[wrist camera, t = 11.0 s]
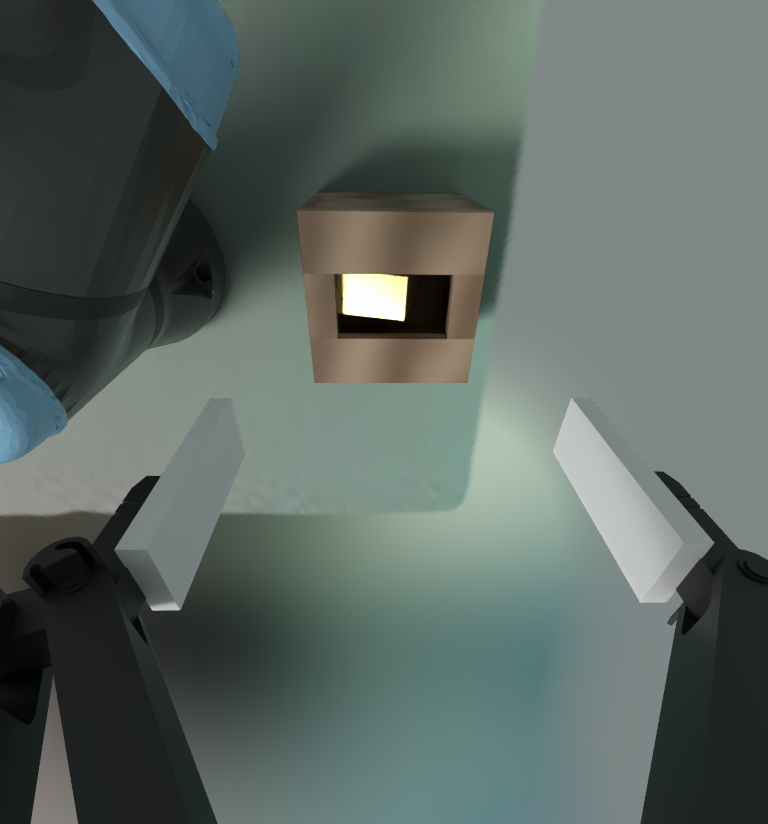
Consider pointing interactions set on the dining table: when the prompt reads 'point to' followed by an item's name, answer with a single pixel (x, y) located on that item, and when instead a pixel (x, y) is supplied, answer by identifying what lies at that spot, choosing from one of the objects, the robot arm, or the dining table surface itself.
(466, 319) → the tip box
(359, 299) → the rectangular block
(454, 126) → the dining table surface
